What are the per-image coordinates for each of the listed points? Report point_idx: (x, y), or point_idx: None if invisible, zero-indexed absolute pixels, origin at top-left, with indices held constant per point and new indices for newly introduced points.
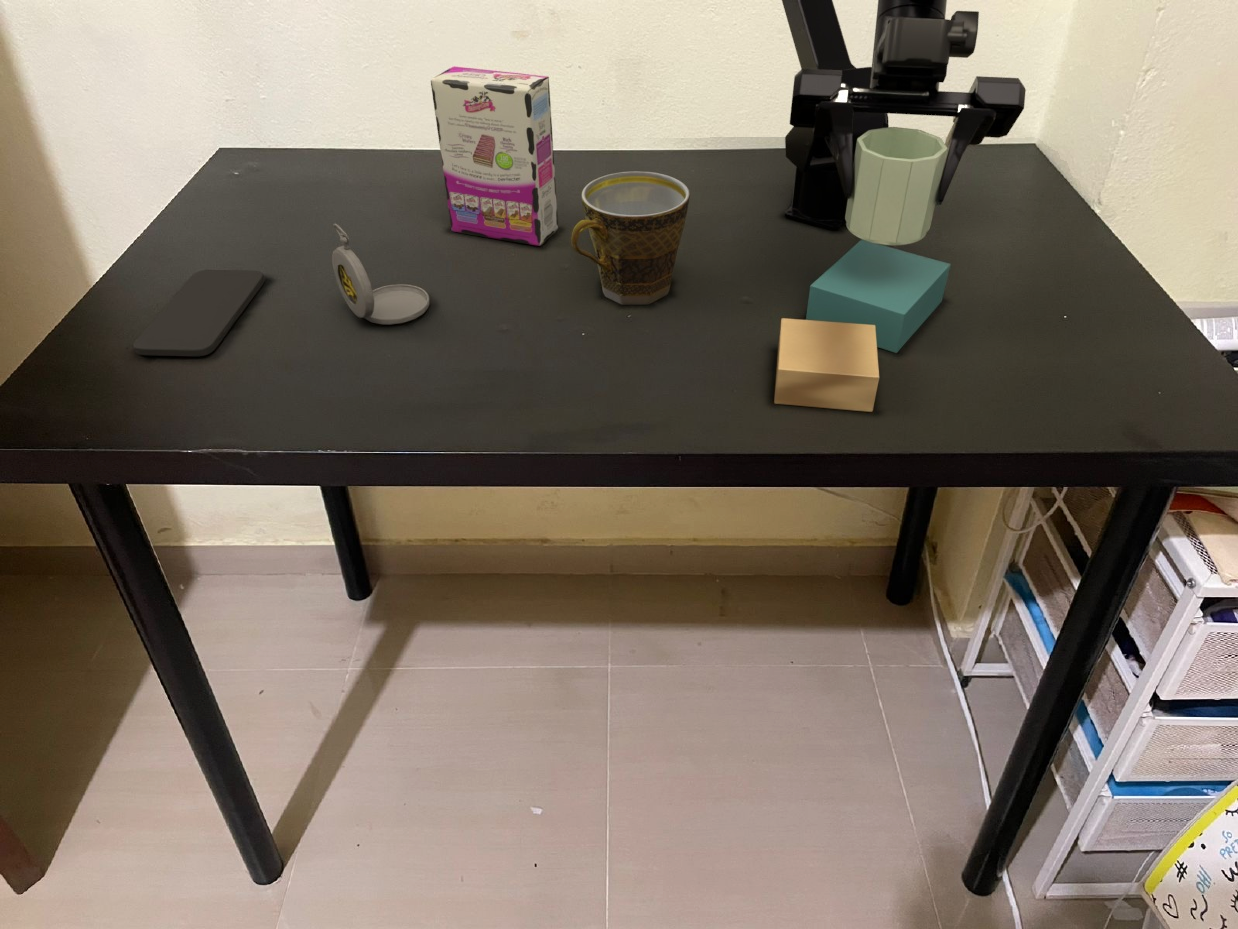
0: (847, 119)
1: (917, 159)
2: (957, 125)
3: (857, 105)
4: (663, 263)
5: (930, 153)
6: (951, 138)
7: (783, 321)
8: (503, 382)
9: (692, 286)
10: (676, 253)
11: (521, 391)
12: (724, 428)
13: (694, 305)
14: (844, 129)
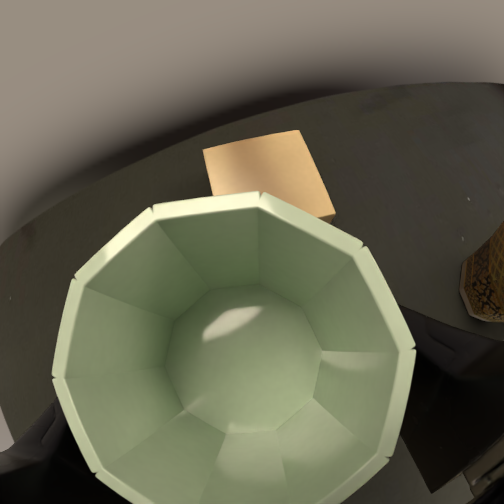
0: (499, 362)
1: (133, 229)
2: (18, 466)
3: (481, 502)
4: (482, 258)
5: (138, 455)
6: (59, 462)
7: (330, 206)
8: (459, 133)
9: (448, 320)
10: (484, 278)
11: (446, 127)
12: (316, 119)
13: (432, 284)
14: (476, 357)
